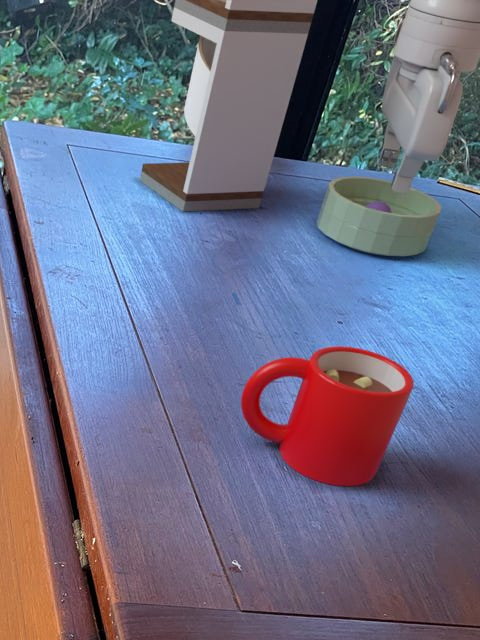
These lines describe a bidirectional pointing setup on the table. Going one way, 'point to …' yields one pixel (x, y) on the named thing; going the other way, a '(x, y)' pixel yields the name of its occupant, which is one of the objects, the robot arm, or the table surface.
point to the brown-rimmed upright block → (234, 99)
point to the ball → (379, 206)
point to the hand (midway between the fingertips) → (392, 178)
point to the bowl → (377, 217)
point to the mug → (333, 412)
